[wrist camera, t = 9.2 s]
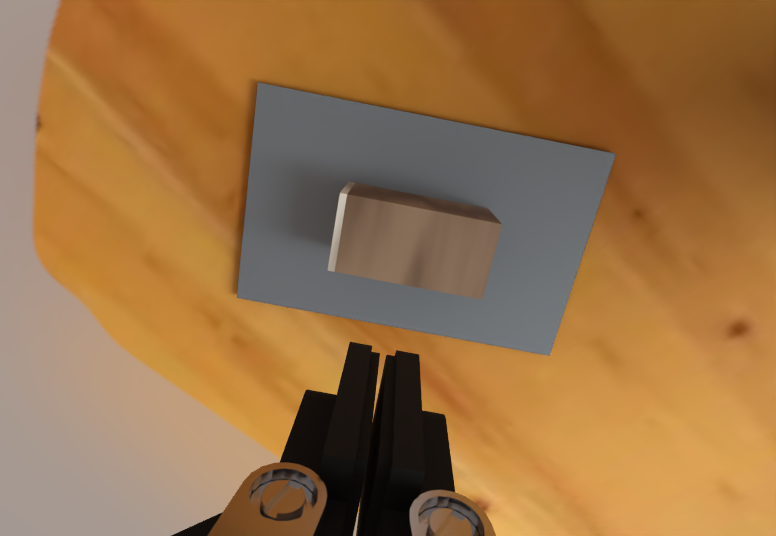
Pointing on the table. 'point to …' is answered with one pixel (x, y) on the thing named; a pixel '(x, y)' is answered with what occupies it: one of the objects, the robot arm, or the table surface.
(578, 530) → the table surface
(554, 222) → the mat
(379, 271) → the block
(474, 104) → the table surface
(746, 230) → the table surface
